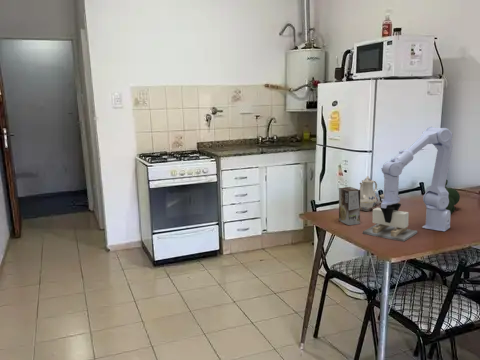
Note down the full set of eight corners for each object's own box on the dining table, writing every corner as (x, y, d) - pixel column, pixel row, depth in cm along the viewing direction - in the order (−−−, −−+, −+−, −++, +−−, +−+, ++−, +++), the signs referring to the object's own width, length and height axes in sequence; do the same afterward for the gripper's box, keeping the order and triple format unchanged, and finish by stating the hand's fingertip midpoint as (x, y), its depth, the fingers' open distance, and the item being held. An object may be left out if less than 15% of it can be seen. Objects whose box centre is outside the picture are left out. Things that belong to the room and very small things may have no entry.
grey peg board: (417, 233, 185) (417, 222, 184) (403, 241, 175) (404, 230, 174) (377, 225, 197) (377, 216, 196) (362, 233, 187) (362, 223, 186)
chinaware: (368, 217, 218) (372, 185, 213) (342, 208, 230) (344, 178, 226) (399, 207, 235) (403, 177, 231) (372, 199, 247) (375, 171, 243)
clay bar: (408, 226, 182) (408, 212, 181) (404, 228, 179) (404, 214, 178) (376, 220, 191) (376, 207, 190) (372, 222, 188) (372, 209, 187)
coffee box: (360, 224, 201) (361, 190, 198) (348, 225, 199) (348, 191, 196) (350, 219, 209) (350, 186, 206) (338, 220, 208) (338, 187, 205)
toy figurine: (452, 221, 205) (461, 205, 224) (453, 183, 200) (463, 170, 220) (430, 219, 211) (442, 203, 230) (431, 181, 206) (443, 169, 225)
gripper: (389, 186, 190) (388, 216, 193) (374, 192, 180) (373, 223, 182) (405, 187, 185) (404, 218, 188) (390, 194, 175) (389, 226, 178)
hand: (390, 221), depth 185 cm, fingers closed on clay bar, 4 cm apart
